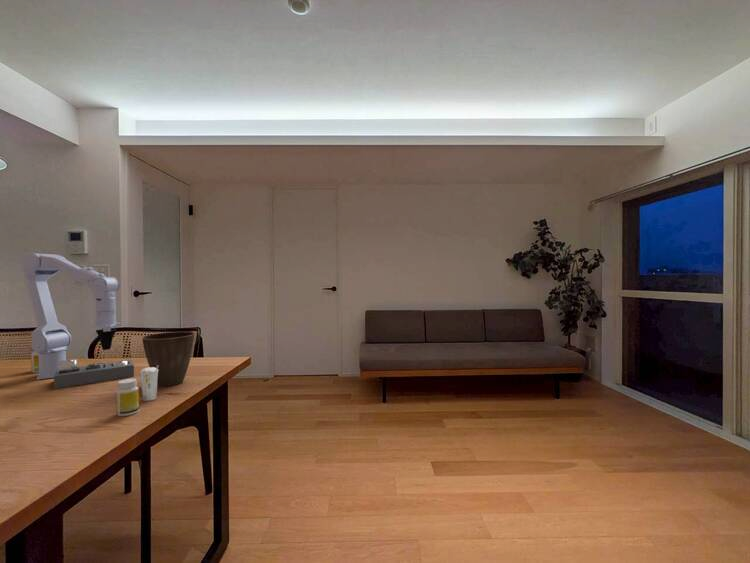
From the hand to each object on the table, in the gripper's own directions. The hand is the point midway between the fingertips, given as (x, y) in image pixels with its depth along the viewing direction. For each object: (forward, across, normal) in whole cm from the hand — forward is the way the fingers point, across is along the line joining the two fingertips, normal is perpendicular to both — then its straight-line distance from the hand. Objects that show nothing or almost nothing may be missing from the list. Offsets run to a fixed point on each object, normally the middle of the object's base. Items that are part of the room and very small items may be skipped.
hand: (106, 349), depth 124 cm
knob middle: (+9, 0, +3) cm, 10 cm away
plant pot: (+10, -23, -16) cm, 30 cm away
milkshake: (+10, -37, -9) cm, 40 cm away
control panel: (+10, 0, +3) cm, 10 cm away
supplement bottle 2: (+10, -45, -2) cm, 46 cm away
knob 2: (+9, 0, -4) cm, 10 cm away
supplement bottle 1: (+10, +27, +19) cm, 34 cm away
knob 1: (+7, 0, +10) cm, 12 cm away
